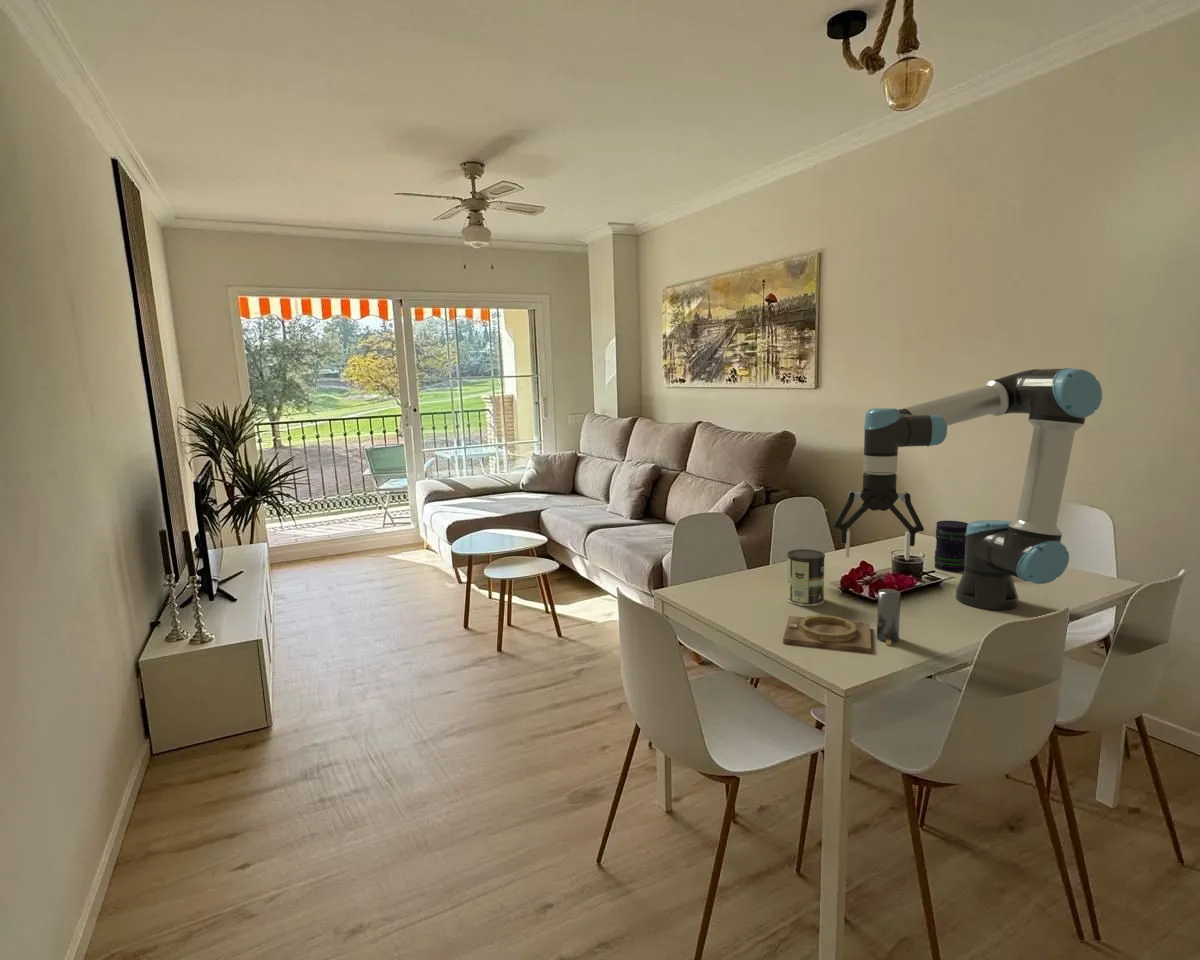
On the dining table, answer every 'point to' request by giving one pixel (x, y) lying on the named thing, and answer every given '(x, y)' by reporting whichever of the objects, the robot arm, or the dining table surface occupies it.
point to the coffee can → (806, 577)
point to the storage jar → (950, 546)
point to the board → (828, 633)
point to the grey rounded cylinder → (888, 615)
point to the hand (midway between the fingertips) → (876, 557)
